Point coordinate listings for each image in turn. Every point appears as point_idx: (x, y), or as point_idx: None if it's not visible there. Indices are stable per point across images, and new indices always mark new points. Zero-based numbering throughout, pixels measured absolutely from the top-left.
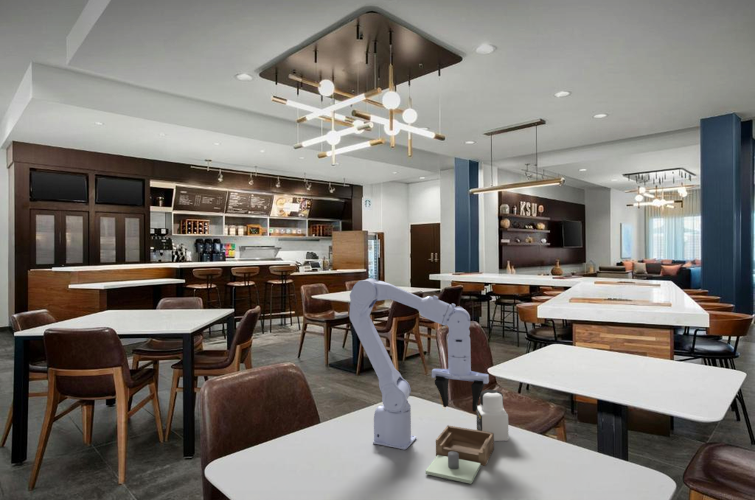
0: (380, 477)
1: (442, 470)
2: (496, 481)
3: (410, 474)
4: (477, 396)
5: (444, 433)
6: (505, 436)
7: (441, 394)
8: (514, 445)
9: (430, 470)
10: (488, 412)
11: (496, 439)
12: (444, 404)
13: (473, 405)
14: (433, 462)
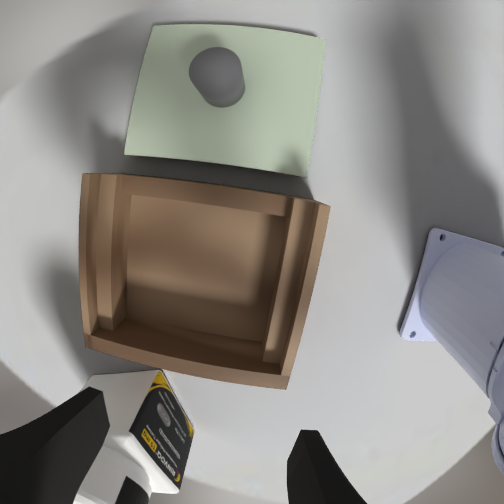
0: (441, 35)
1: (262, 51)
2: (87, 89)
3: (373, 50)
4: (3, 434)
5: (294, 315)
6: (92, 382)
7: (350, 499)
8: (72, 350)
9: (308, 42)
10: (109, 446)
11: (117, 375)
12: (313, 442)
13: (73, 408)
14: (311, 103)
